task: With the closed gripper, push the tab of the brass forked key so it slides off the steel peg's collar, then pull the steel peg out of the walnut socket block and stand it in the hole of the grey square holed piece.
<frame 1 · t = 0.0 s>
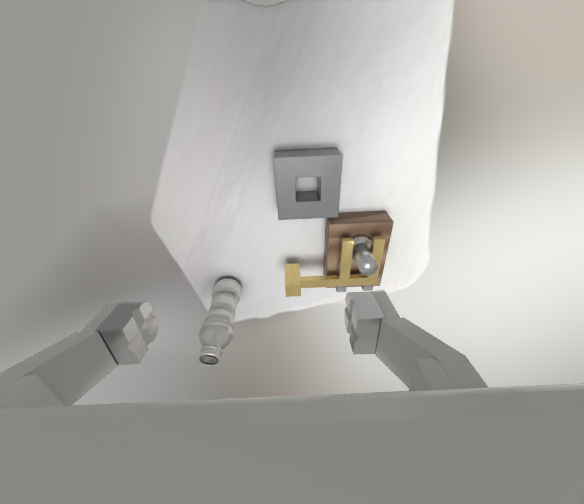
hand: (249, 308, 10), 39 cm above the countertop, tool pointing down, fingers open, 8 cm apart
grey square holed piece: (306, 180, 47), on the countertop
socket block: (353, 233, 54), on the countertop
plastic bottle: (229, 284, 61), on the countertop
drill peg: (353, 233, 54), resting in socket block
drift key: (331, 261, 50), point 6 cm above the countertop, slide at 0.0 cm
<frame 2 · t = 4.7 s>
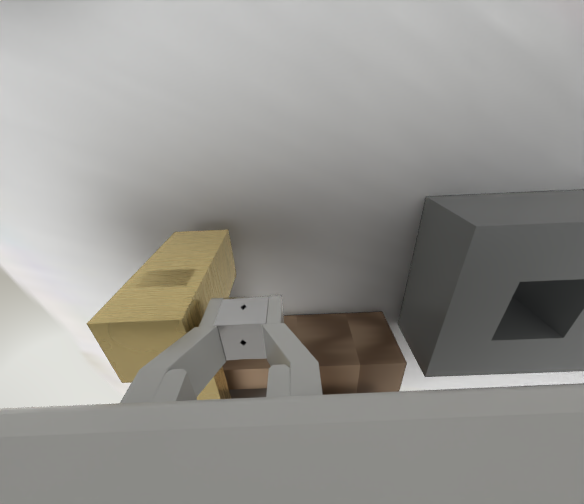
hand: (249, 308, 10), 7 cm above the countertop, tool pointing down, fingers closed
grey square holed piece: (485, 266, 18), on the countertop
socket block: (320, 362, 23), on the countertop
drift key: (285, 390, 15), point 6 cm above the countertop, slide at 0.1 cm, touching gripper
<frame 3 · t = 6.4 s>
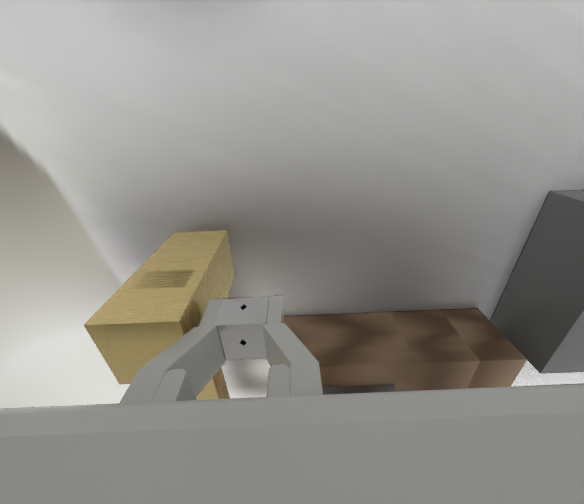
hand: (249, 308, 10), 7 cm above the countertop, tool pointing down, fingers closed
socket block: (402, 360, 23), on the countertop
drift key: (284, 391, 15), point 6 cm above the countertop, slide at 7.8 cm, touching gripper
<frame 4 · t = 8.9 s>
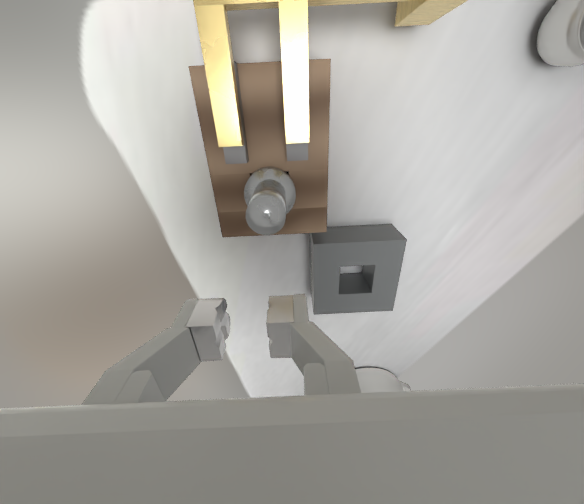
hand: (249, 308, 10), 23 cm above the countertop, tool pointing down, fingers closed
grey square holed piece: (348, 260, 36), on the countertop
socket block: (272, 181, 31), on the countertop
plastic bottle: (559, 30, 24), on the countertop
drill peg: (272, 180, 31), resting in socket block
drift key: (326, 62, 20), point 6 cm above the countertop, slide at 7.9 cm
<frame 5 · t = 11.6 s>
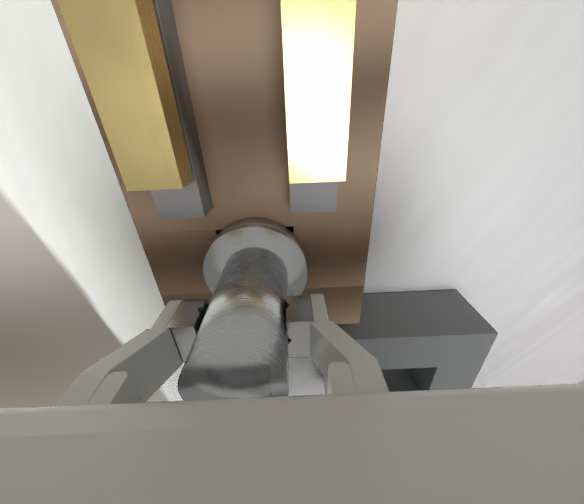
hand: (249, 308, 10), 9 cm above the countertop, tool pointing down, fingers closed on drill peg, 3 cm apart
grey square holed piece: (382, 338, 24), on the countertop
socket block: (265, 226, 18), on the countertop
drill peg: (265, 226, 18), resting in socket block, touching gripper
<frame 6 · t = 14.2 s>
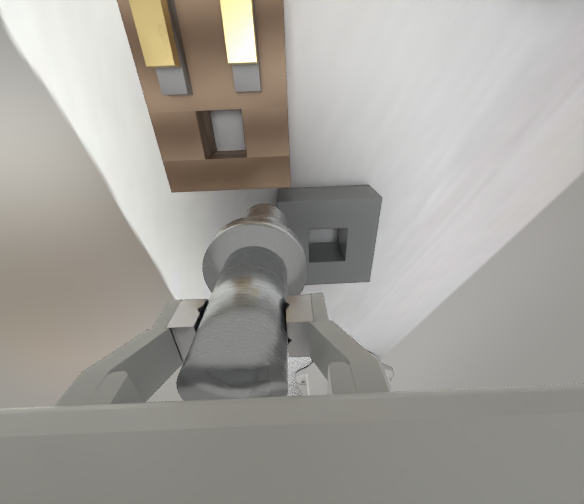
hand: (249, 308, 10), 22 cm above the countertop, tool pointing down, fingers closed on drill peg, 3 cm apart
grey square holed piece: (322, 228, 33), on the countertop
socket block: (231, 130, 27), on the countertop
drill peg: (264, 225, 18), point 13 cm above the countertop, touching gripper
when the fingers open (10 cm above the countertop, at t = 17.1 s): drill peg stays where it is, resting in grey square holed piece.
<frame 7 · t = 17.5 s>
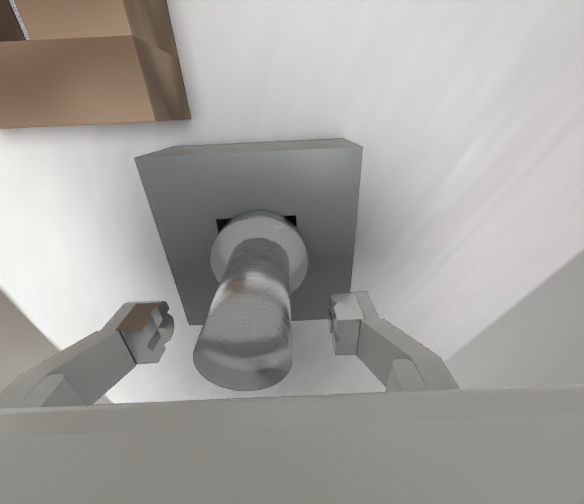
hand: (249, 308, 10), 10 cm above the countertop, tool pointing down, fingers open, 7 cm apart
grey square holed piece: (266, 221, 19), on the countertop
socket block: (54, 16, 13), on the countertop
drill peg: (267, 221, 19), resting in grey square holed piece
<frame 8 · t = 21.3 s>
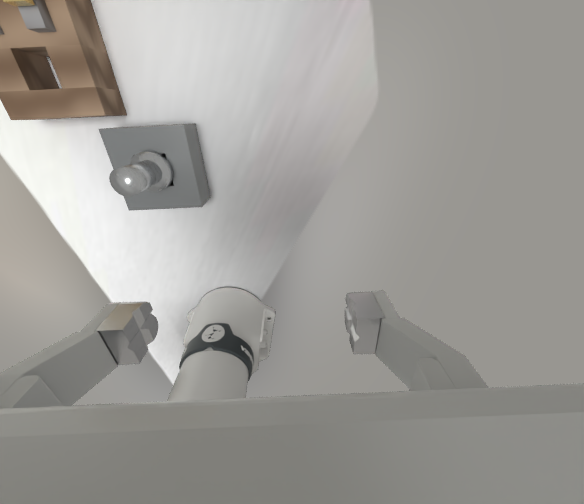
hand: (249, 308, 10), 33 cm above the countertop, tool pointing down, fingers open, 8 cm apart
grey square holed piece: (168, 164, 39), on the countertop
socket block: (68, 74, 33), on the countertop
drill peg: (168, 164, 39), resting in grey square holed piece
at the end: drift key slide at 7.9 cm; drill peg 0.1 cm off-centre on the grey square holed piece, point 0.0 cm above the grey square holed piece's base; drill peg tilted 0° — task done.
